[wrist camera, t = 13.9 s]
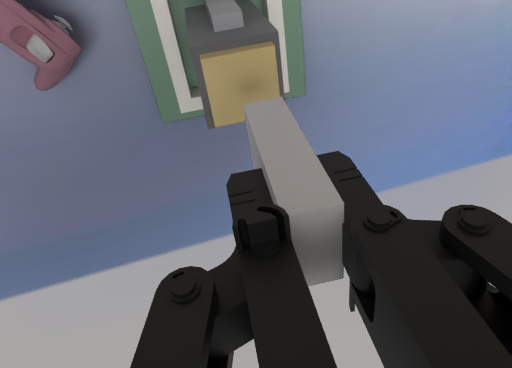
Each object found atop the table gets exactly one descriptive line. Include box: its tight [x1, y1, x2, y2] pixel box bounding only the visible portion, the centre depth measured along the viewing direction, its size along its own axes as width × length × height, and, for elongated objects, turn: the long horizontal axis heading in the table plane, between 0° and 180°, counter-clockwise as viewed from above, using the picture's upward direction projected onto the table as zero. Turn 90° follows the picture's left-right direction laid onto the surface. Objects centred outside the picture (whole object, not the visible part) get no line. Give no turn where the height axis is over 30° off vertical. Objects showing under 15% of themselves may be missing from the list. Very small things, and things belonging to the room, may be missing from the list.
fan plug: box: [185, 0, 285, 129], centre depth 23 cm, size 4×5×11 cm
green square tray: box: [125, 0, 306, 123], centre depth 27 cm, size 12×12×3 cm
